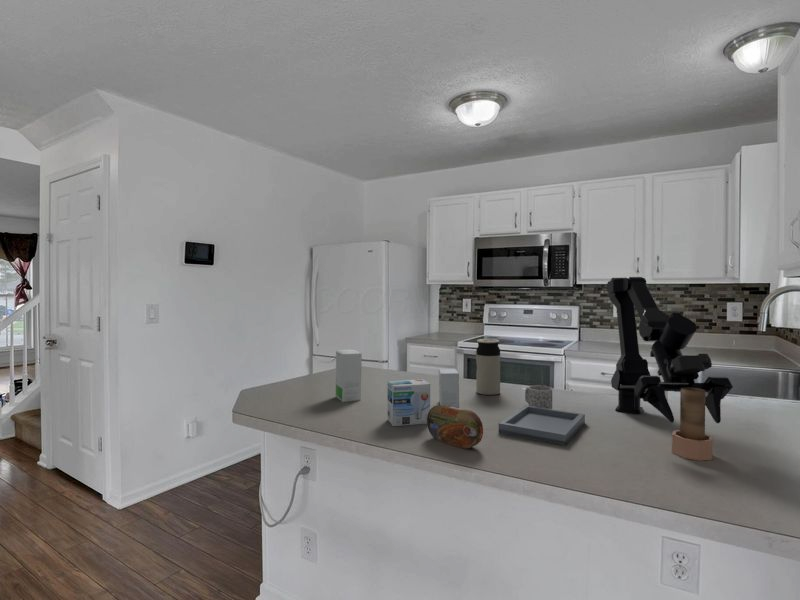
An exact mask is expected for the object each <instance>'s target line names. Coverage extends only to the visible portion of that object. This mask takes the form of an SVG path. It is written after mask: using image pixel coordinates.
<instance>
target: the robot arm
mask: <svg viewBox="0 0 800 600" xmlns="http://www.w3.org/2000/svg"><path fill="white" fill-rule="evenodd" d="M606 291H607V293H608V298H609V301H610V302H611V303H612V304H613V306H614V307H615V309H616V317H617V326H618V336H619V346H620V348H619V349H620V357H619V359H618V360H617V362H616V364H615V371H614V374H613V375H612V377H611V379H610V382H611V383H610V384H611V388H612V389H614V390H616V391H618V403H617V406H616V407H615V411H616V412H622V413H623V412H624V413H629V414H630V413H631V414H638V415H640V414H642V412H643V410H644V407H642V406H641V399H642V401H643V402H647V403H648V404H650V405H651V406H652V407H653V408H655V409H656V410H657V411H658V412H660V413H661V415H663V417H665V418H666V419H667V420H668V421H669V422H670V423H674V421H675V418H674V414H673V412H672V408H671V406H670V405H669V401H668V398H667V397H666V392H674V393H675V392H676V393H677V392H678V393H680V391H681V388H682V387H693V388H700V389H703V390H705V408H706V409H707V410H708V413H709V414H710V416H711V418H712V419H713V421H714V422H715V424H720V423H721V421H722V420H721V418H722V416H721V414H722V412H721V404H722V403H721V402H722V400H723V399H725V397H726V396H727V395H728V393H729V392H731V390H732V389H733V388H734V385H733V383H732V381H731V380H730V379H729V377H726V376H708V377H707V378H706V379H705V381H704V382H695V380H698V378H699V377H700V376H699V373H701V372H705V371H706V370H708V369H710V368H712V366H713V363H712V359H711V357H710V356H709V354H708V353H698V354H696V355H694V354H693V355H690V354H689V355H688V354H687V355H685V354H684V355H683V353H682V350H683V349H685V348H687V346H688V345H689V342H690V341H691V339H692V338H693V336H694V335H695V333H696V332H697V328H698V327H697V324H696V323H695V322H693V321H692V319H690V318H689V317H687V316H683V315H682V313H681V312H671V314H670V315H669V314H667V313H666V312H664V311H662V310H661V309H660V307H658V304H657V303H656V301H655V299H654V297H653V295H652V293H651V291H650V290H649V288H648V286H647V280H646V277H642V276H627V277H612V278H611V279H610V280H608V281H607V282H606ZM635 310H636V311H635ZM635 312H636V313H637V314H638V317H639V319H640V322H639V324H638V328H637V320H636V313H635ZM637 329H638V330H637ZM638 333H639V336H640V337H641V338H642V340H643V341H644V342H653V343H652V346H651V347H650V348H651V350H650V355H649V356H650V358H654V359H655V362H656V364H657V366H658V370H657V375H651V373H650V371H649V362H648V361H647V359H646V358H644V357H642V355H641V354H640V348H639V347H640V346H639V338H638ZM660 376H661V377H662V380H663V381H662V380H661V377H660Z"/></svg>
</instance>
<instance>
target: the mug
mask: <svg viewBox="0 0 800 600" xmlns="http://www.w3.org/2000/svg"><path fill="white" fill-rule="evenodd" d="M524 399H525V402H526V403H527V404H528V406H534V407H541V408H548V409H553V387H551V386H547V385H530V386H528V387H526V388H525V391H524Z"/></svg>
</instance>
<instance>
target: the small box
mask: <svg viewBox="0 0 800 600" xmlns="http://www.w3.org/2000/svg"><path fill="white" fill-rule="evenodd" d="M438 403H439V406H440V405H447V406H452V407H456V408H460V373H459V371H458V370H457V368H439V369H438Z"/></svg>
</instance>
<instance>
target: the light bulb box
mask: <svg viewBox="0 0 800 600" xmlns="http://www.w3.org/2000/svg"><path fill="white" fill-rule="evenodd" d="M430 409H431V383H429V382H428V381H426V380H425V379H423V378H419V379H404V380H402V379H401V380H388V381H387V421H388V422H389V423H390V424H391V426H392V427H401V426H414V425H415V426H416V425H427V416H428V413H429V411H430Z"/></svg>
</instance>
